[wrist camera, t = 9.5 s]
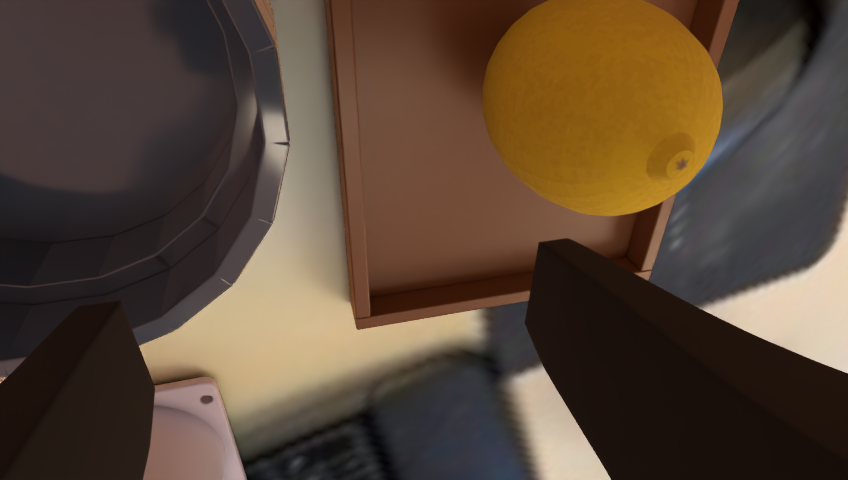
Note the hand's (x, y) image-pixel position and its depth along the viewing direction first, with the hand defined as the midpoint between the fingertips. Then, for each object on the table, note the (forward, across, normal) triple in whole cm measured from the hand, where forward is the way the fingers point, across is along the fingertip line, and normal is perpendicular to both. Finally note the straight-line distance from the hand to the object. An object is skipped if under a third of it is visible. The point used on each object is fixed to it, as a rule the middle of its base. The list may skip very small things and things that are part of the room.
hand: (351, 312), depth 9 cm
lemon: (+9, -7, -2) cm, 12 cm away
